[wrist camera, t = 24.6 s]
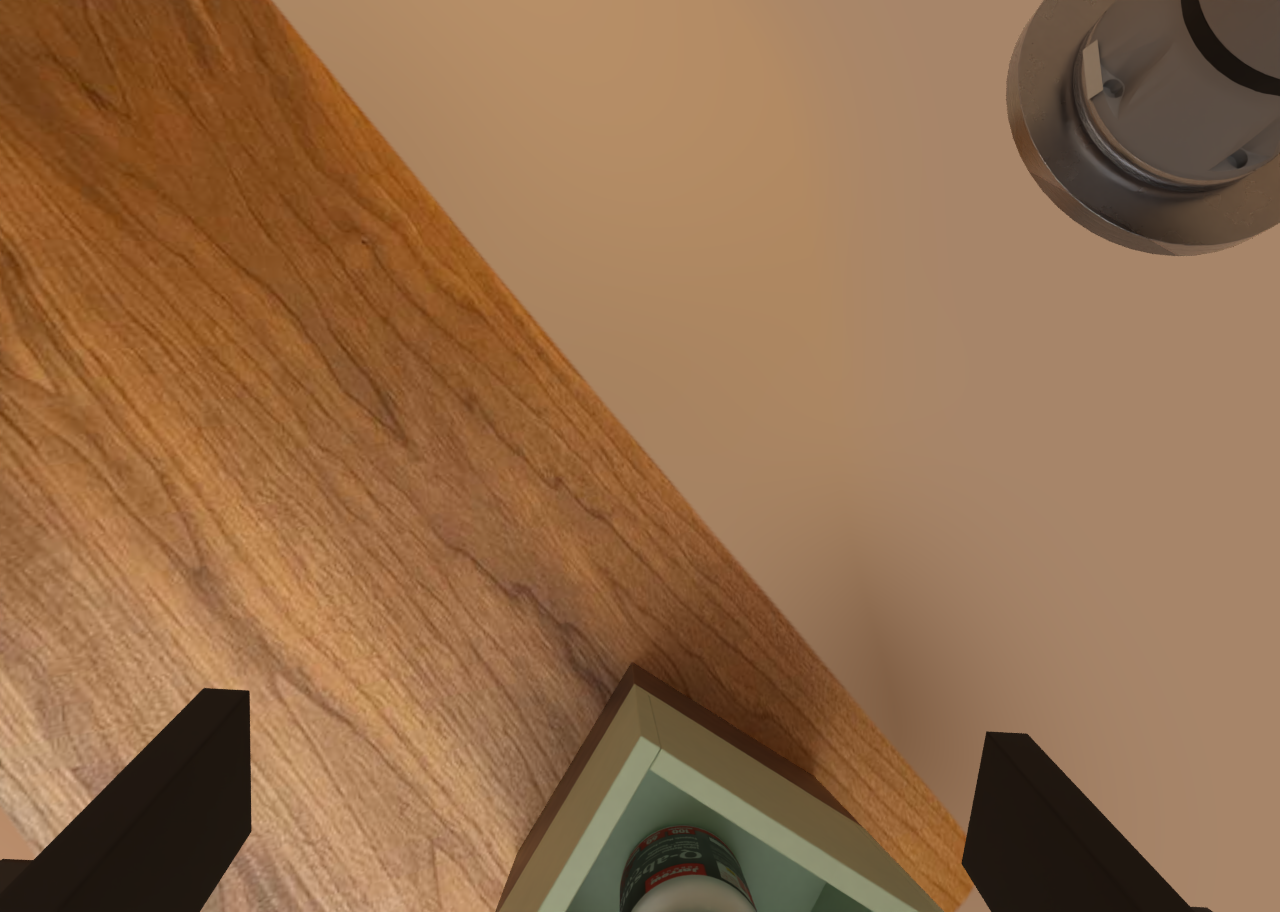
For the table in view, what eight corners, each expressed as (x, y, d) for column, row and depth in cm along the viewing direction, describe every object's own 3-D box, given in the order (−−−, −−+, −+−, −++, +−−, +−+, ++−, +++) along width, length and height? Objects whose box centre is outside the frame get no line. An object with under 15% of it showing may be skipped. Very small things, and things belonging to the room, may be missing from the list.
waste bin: (815, 777, 49) (984, 952, 26) (705, 977, 47) (783, 1352, 24) (631, 662, 50) (640, 735, 27) (516, 854, 48) (421, 1107, 25)
